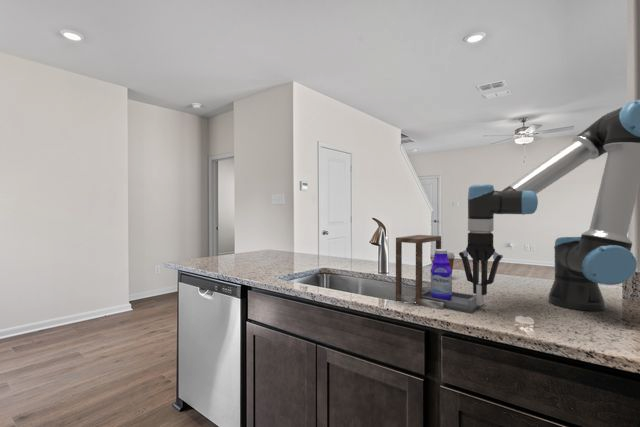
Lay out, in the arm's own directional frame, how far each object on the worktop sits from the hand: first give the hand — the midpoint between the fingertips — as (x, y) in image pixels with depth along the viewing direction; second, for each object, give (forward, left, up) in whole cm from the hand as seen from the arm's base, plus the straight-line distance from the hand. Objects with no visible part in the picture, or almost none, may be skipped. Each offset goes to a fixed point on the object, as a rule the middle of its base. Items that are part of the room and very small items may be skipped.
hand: (479, 304), depth 106 cm
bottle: (+13, 0, -1) cm, 13 cm away
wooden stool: (+17, 0, -2) cm, 17 cm away
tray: (+10, 0, -2) cm, 10 cm away
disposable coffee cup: (+27, -41, -2) cm, 49 cm away
